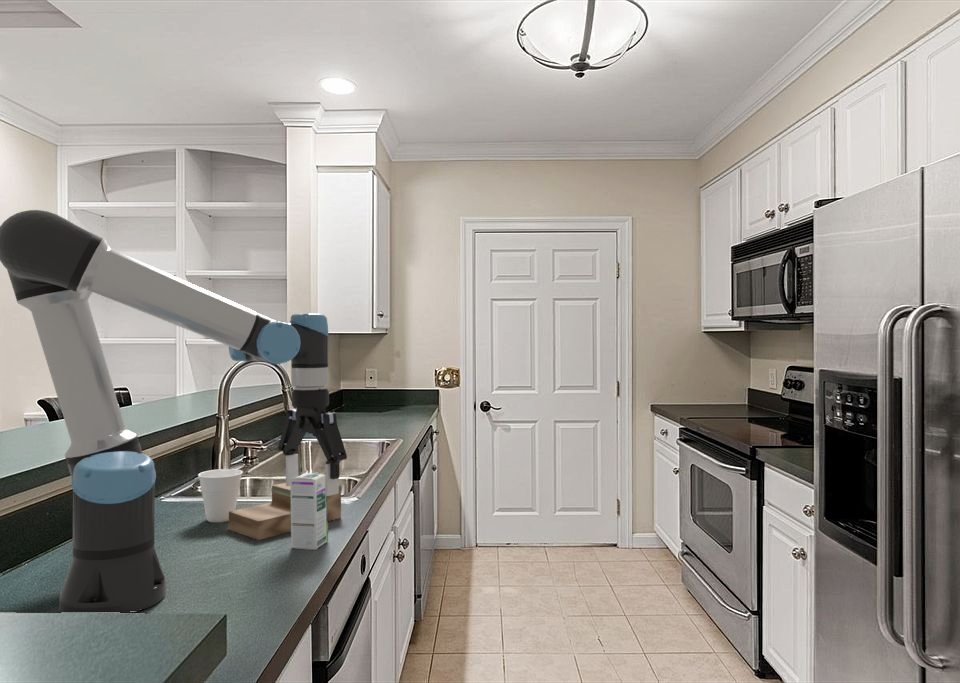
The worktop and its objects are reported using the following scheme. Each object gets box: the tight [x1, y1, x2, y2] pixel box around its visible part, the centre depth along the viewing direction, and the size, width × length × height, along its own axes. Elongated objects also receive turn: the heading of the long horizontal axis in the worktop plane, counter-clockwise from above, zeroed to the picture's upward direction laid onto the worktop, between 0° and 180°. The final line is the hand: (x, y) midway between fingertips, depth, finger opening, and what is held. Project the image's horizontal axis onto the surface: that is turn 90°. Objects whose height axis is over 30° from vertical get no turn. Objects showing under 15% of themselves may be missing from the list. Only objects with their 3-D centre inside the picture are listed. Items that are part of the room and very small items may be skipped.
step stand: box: [228, 482, 343, 541], centre depth 151 cm, size 22×13×8 cm, turn 141°
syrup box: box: [290, 472, 329, 551], centre depth 135 cm, size 6×6×14 cm
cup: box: [197, 468, 244, 524], centre depth 154 cm, size 10×10×11 cm
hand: (311, 489), depth 135 cm, fingers open, 13 cm apart
